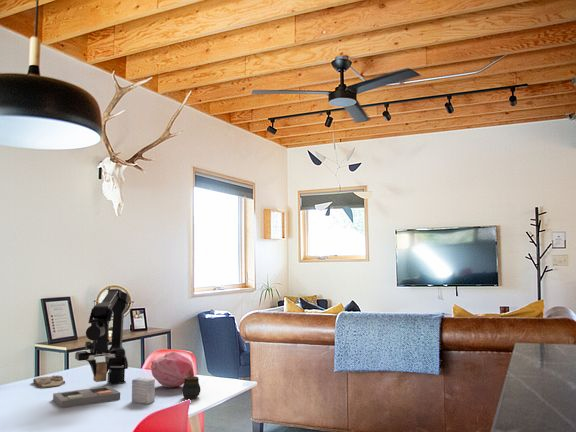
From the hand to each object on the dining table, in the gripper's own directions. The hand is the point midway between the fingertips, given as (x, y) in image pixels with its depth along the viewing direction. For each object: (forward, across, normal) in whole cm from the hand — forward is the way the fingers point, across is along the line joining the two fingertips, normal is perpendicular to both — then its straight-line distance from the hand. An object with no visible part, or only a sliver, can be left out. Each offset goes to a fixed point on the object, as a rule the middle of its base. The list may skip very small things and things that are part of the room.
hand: (100, 375), depth 217 cm
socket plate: (+8, +6, +2) cm, 10 cm away
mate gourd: (+8, -29, +23) cm, 38 cm away
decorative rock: (+9, -30, +2) cm, 32 cm away
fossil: (+9, +12, -35) cm, 38 cm away
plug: (+2, 0, 0) cm, 2 cm away
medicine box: (+9, -11, +18) cm, 23 cm away
